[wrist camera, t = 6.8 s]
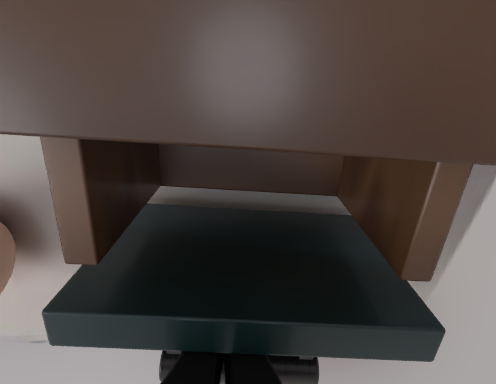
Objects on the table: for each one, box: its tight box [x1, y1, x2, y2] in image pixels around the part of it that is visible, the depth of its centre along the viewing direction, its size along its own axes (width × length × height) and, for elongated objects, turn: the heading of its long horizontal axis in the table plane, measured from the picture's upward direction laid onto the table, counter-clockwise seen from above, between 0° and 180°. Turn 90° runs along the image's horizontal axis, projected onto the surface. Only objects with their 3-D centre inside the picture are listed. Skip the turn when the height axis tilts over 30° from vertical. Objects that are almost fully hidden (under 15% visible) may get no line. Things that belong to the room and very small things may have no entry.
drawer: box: [40, 137, 473, 384], centre depth 9 cm, size 17×10×7 cm, turn 176°
